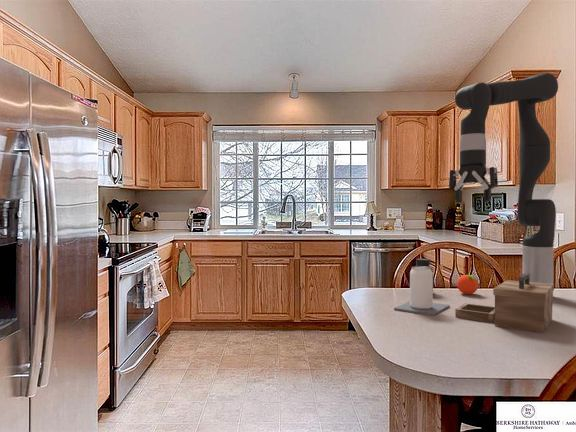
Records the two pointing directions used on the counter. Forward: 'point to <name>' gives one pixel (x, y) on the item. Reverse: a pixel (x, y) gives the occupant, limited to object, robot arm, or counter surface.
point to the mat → (433, 311)
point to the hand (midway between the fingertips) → (472, 202)
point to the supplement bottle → (423, 263)
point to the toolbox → (515, 306)
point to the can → (421, 287)
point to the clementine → (467, 284)
